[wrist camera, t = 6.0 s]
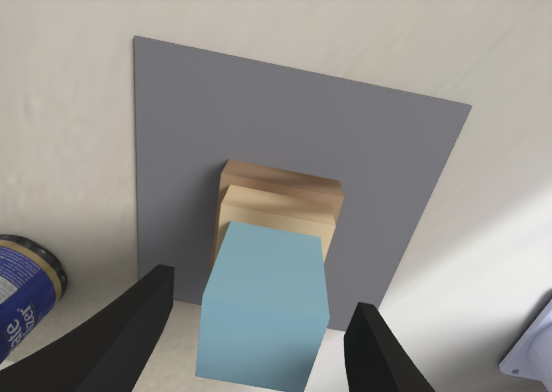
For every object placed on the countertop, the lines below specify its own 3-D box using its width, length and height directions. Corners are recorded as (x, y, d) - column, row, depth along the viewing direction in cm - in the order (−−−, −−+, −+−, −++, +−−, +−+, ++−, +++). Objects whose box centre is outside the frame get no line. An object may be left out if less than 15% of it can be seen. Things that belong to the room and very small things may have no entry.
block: (320, 236, 14) (329, 318, 10) (301, 302, 16) (302, 394, 11) (230, 220, 14) (202, 295, 10) (222, 288, 15) (195, 375, 11)
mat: (469, 104, 15) (472, 105, 15) (365, 331, 22) (365, 335, 22) (137, 36, 15) (134, 35, 14) (141, 290, 22) (139, 293, 21)
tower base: (339, 180, 17) (344, 197, 15) (313, 267, 19) (314, 289, 18) (229, 159, 17) (221, 173, 15) (218, 248, 19) (209, 270, 18)
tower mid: (331, 204, 15) (335, 226, 13) (307, 281, 17) (309, 308, 16) (230, 184, 15) (221, 203, 13) (219, 264, 17) (210, 290, 16)
